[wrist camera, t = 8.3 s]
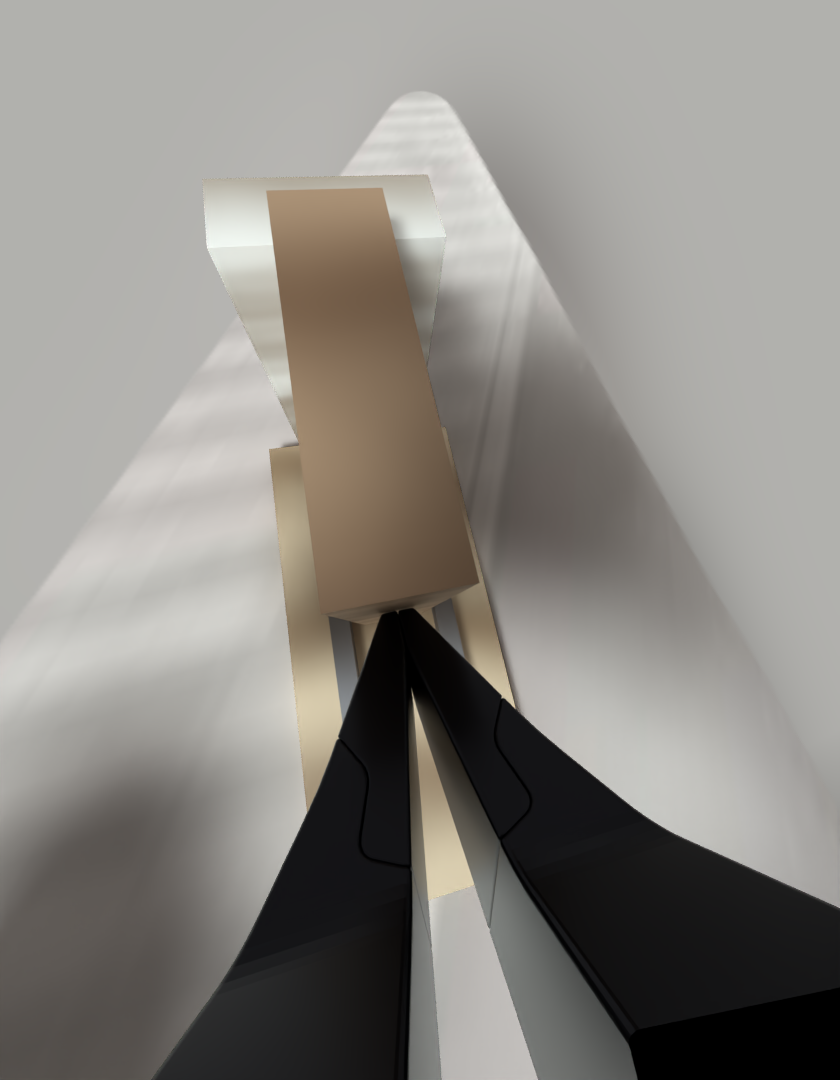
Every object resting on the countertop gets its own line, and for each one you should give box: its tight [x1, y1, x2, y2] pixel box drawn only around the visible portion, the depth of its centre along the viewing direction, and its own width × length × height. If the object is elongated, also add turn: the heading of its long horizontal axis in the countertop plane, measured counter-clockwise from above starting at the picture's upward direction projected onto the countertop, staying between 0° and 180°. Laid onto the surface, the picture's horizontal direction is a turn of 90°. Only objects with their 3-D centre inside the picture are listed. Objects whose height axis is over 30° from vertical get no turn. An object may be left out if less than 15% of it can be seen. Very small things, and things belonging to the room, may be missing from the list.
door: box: [266, 188, 480, 625], centre depth 11 cm, size 9×3×10 cm, turn 12°
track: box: [203, 175, 516, 900], centre depth 11 cm, size 22×9×10 cm, turn 12°
